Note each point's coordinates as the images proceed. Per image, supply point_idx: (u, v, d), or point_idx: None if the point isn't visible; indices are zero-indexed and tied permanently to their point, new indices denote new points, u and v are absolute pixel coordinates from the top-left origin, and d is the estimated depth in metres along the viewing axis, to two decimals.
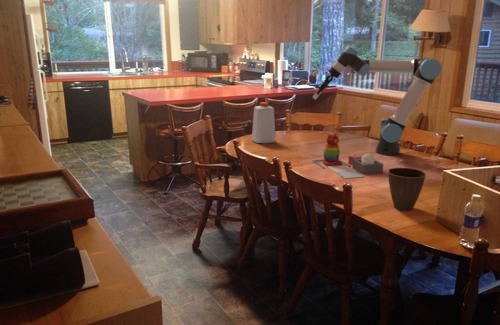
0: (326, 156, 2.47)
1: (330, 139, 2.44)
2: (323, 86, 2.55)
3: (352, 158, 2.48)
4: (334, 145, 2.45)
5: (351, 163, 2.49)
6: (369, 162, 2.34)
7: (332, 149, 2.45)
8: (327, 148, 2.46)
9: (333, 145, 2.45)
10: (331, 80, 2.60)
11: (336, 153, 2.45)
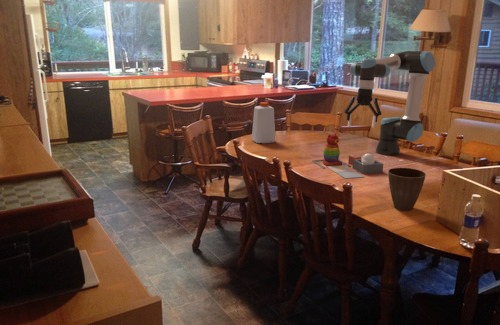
0: (326, 156, 2.47)
1: (330, 139, 2.44)
2: None
3: (352, 158, 2.48)
4: (334, 145, 2.45)
5: (351, 163, 2.49)
6: (369, 162, 2.34)
7: (332, 149, 2.45)
8: (327, 148, 2.46)
9: (333, 145, 2.45)
10: None
11: (336, 153, 2.45)
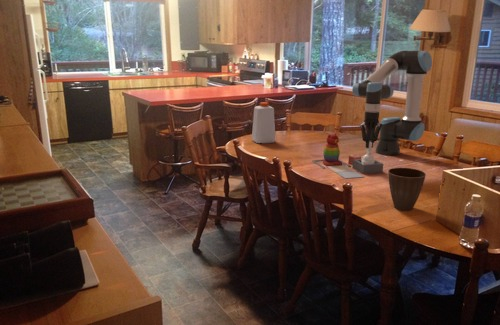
0: (326, 156, 2.47)
1: (330, 139, 2.44)
2: None
3: (352, 158, 2.48)
4: (334, 145, 2.45)
5: (351, 163, 2.49)
6: (369, 163, 2.34)
7: (332, 149, 2.45)
8: (327, 148, 2.46)
9: (333, 145, 2.45)
10: None
11: (336, 153, 2.45)
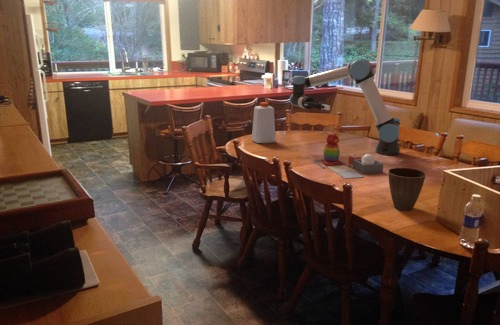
0: (326, 156, 2.47)
1: (330, 139, 2.44)
2: (314, 105, 2.54)
3: (352, 158, 2.48)
4: (334, 145, 2.45)
5: (351, 163, 2.49)
6: (369, 163, 2.34)
7: (332, 149, 2.45)
8: (327, 148, 2.46)
9: (333, 145, 2.45)
10: (310, 101, 2.60)
11: (336, 153, 2.45)
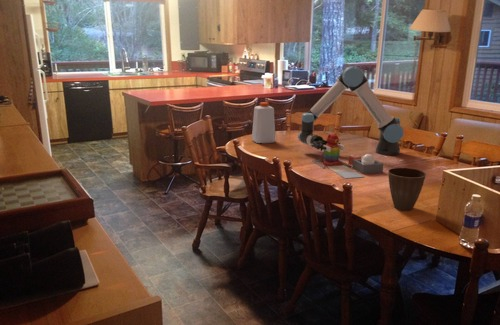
0: (326, 156, 2.47)
1: (330, 139, 2.44)
2: (316, 146, 2.49)
3: (352, 158, 2.48)
4: (334, 145, 2.45)
5: (351, 163, 2.49)
6: (369, 163, 2.34)
7: (332, 149, 2.45)
8: None
9: (333, 145, 2.45)
10: (318, 141, 2.56)
11: (336, 153, 2.45)
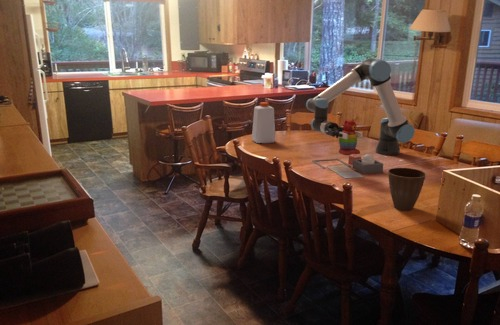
0: (342, 144, 2.24)
1: (347, 125, 2.21)
2: (331, 133, 2.27)
3: (352, 158, 2.48)
4: (351, 132, 2.22)
5: (351, 163, 2.49)
6: (369, 163, 2.34)
7: (349, 136, 2.22)
8: None
9: (350, 132, 2.22)
10: (333, 128, 2.34)
11: (353, 141, 2.22)
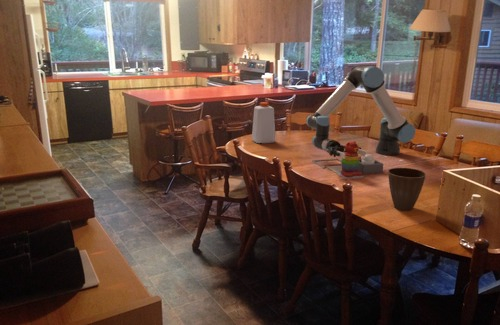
0: (344, 166, 2.26)
1: (349, 147, 2.23)
2: (329, 152, 2.28)
3: None
4: (353, 154, 2.24)
5: None
6: (369, 163, 2.34)
7: (351, 158, 2.23)
8: (346, 157, 2.24)
9: (352, 154, 2.24)
10: (335, 146, 2.35)
11: (355, 163, 2.24)
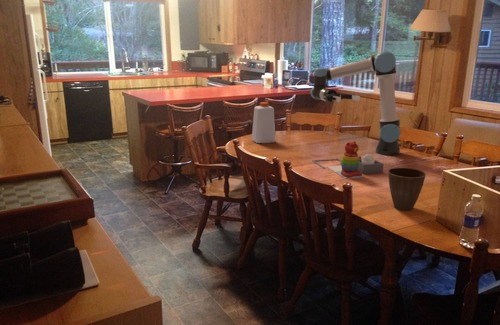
0: (344, 166, 2.26)
1: (349, 147, 2.23)
2: (326, 97, 2.46)
3: None
4: (353, 154, 2.24)
5: None
6: (369, 163, 2.34)
7: (351, 158, 2.23)
8: (345, 157, 2.24)
9: (352, 154, 2.23)
10: (331, 93, 2.53)
11: (355, 163, 2.24)
